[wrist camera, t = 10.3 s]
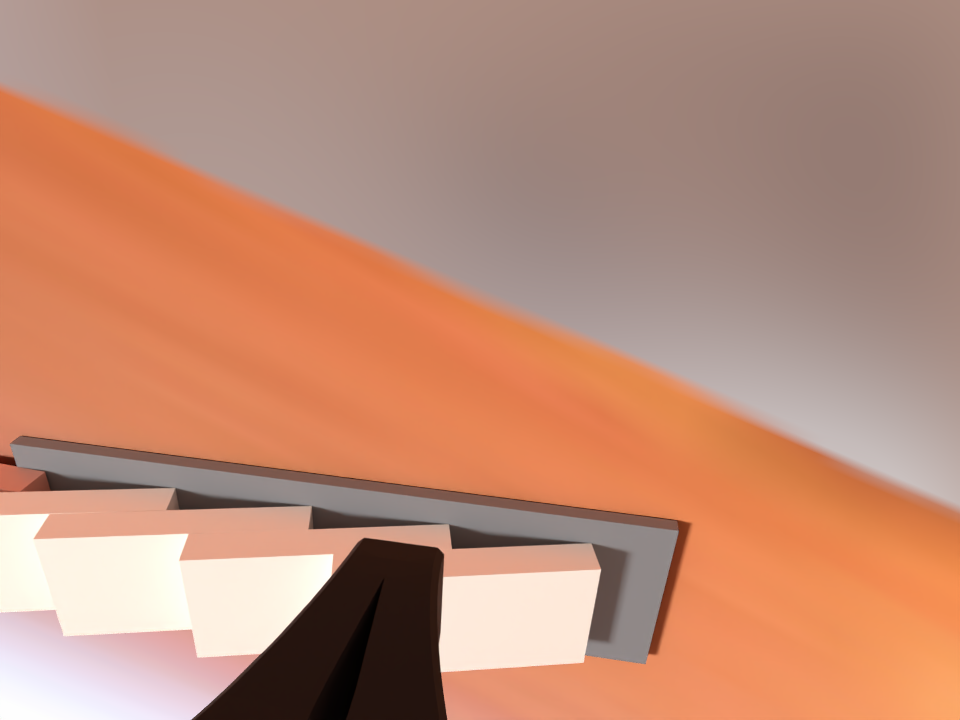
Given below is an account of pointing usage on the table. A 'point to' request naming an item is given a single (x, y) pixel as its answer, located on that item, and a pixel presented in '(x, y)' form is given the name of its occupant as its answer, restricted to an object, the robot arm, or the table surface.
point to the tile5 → (22, 479)
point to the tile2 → (268, 579)
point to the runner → (401, 520)
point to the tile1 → (515, 605)
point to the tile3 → (135, 563)
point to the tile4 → (19, 515)
